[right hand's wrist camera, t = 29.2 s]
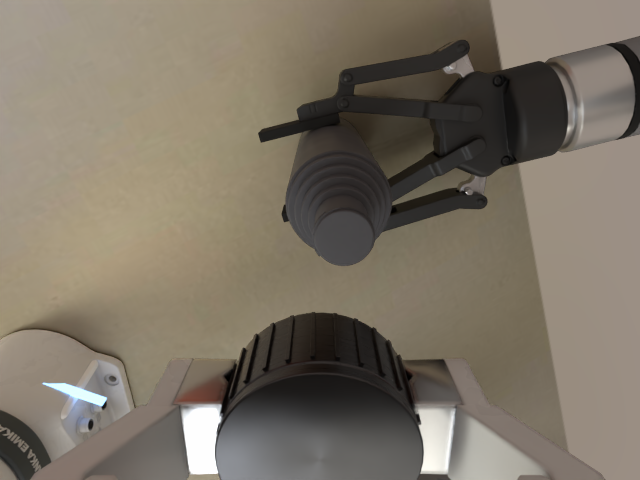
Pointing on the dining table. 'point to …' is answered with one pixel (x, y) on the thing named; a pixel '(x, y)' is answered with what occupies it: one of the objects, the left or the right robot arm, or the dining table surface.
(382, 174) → the bottle
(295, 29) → the dining table surface
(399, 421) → the cap
